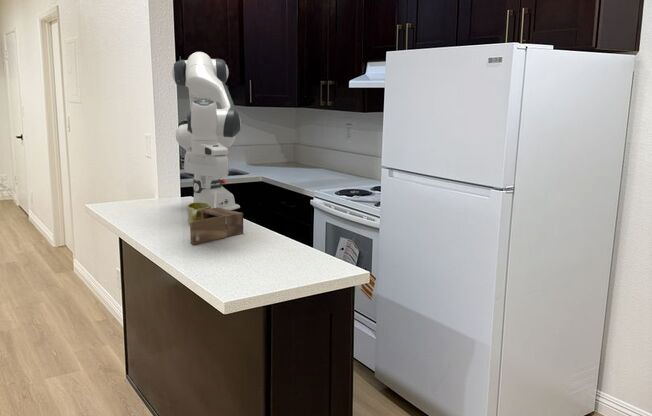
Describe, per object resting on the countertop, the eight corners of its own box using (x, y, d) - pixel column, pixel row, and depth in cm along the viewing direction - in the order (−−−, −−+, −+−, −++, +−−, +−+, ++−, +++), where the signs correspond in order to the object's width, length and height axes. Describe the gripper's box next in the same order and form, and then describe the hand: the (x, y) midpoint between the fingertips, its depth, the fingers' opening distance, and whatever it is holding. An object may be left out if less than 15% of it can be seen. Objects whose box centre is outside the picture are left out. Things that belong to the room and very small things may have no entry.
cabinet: (218, 227, 235) (217, 207, 233) (243, 233, 225) (243, 212, 224) (202, 230, 229) (201, 210, 227) (227, 237, 219) (226, 216, 218)
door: (190, 243, 208) (189, 221, 206) (225, 236, 220) (224, 215, 218) (194, 245, 206) (194, 222, 205) (229, 237, 218) (229, 216, 216)
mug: (190, 215, 246) (194, 195, 241) (213, 224, 244) (217, 204, 240) (176, 227, 235) (180, 206, 230) (199, 236, 234) (204, 215, 229)
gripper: (178, 146, 204) (180, 185, 207) (216, 151, 191) (217, 193, 194) (193, 145, 209) (195, 184, 211) (231, 149, 196) (232, 190, 198)
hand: (206, 188), depth 202 cm, fingers closed
